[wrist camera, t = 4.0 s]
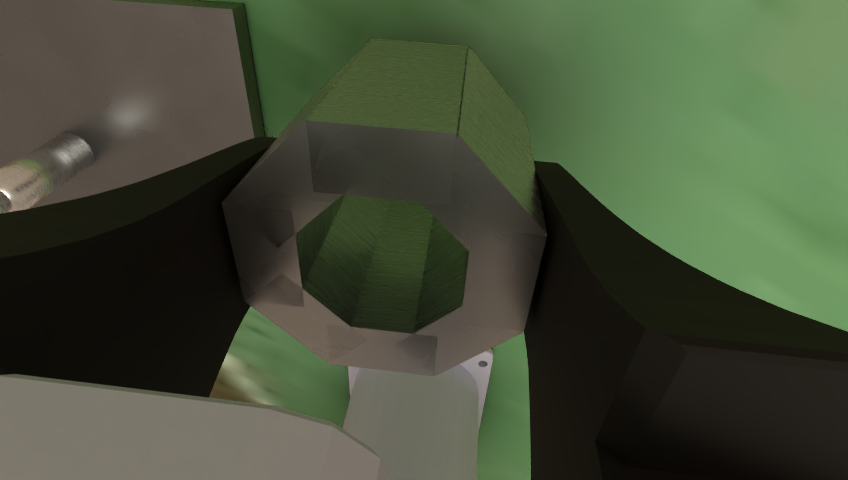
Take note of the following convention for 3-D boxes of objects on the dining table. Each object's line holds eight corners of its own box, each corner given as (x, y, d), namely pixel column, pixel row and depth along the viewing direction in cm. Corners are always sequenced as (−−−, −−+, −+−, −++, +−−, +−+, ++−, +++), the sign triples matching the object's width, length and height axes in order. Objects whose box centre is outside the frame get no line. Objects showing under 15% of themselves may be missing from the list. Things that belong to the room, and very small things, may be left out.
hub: (503, 244, 14) (510, 385, 10) (321, 225, 14) (257, 355, 10) (538, 50, 11) (569, 143, 7) (304, 33, 11) (200, 111, 7)
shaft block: (285, 265, 24) (238, 353, 20) (-15, 233, 25) (-127, 310, 21) (244, 3, 17) (155, 45, 13) (-172, -27, 18) (-396, 1, 13)
